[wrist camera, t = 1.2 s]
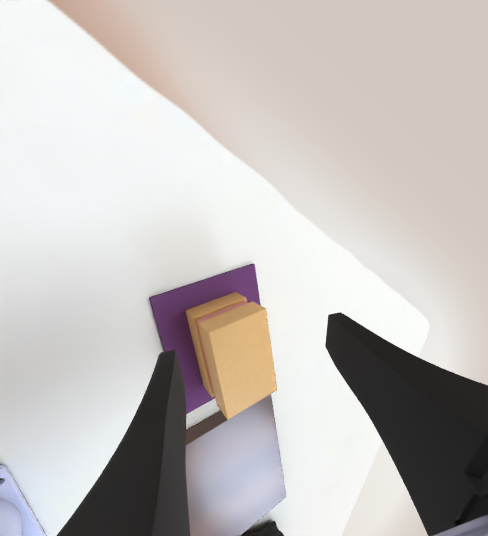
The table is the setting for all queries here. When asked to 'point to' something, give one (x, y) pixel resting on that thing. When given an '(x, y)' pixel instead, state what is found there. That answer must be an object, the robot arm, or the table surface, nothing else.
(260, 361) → the sandwich
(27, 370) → the table surface
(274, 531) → the gaming controller
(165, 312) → the felt cloth
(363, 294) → the table surface
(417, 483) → the robot arm
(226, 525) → the cutting board
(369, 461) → the table surface
